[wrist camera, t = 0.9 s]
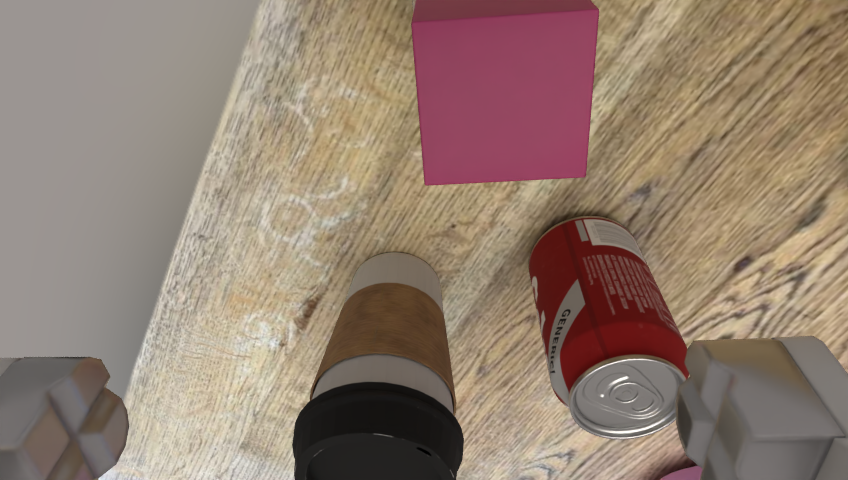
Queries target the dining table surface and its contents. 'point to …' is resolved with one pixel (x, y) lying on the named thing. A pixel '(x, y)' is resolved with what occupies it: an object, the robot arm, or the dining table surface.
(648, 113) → the dining table surface
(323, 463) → the coffee cup
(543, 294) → the soda can
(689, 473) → the teapot
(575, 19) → the pink block
